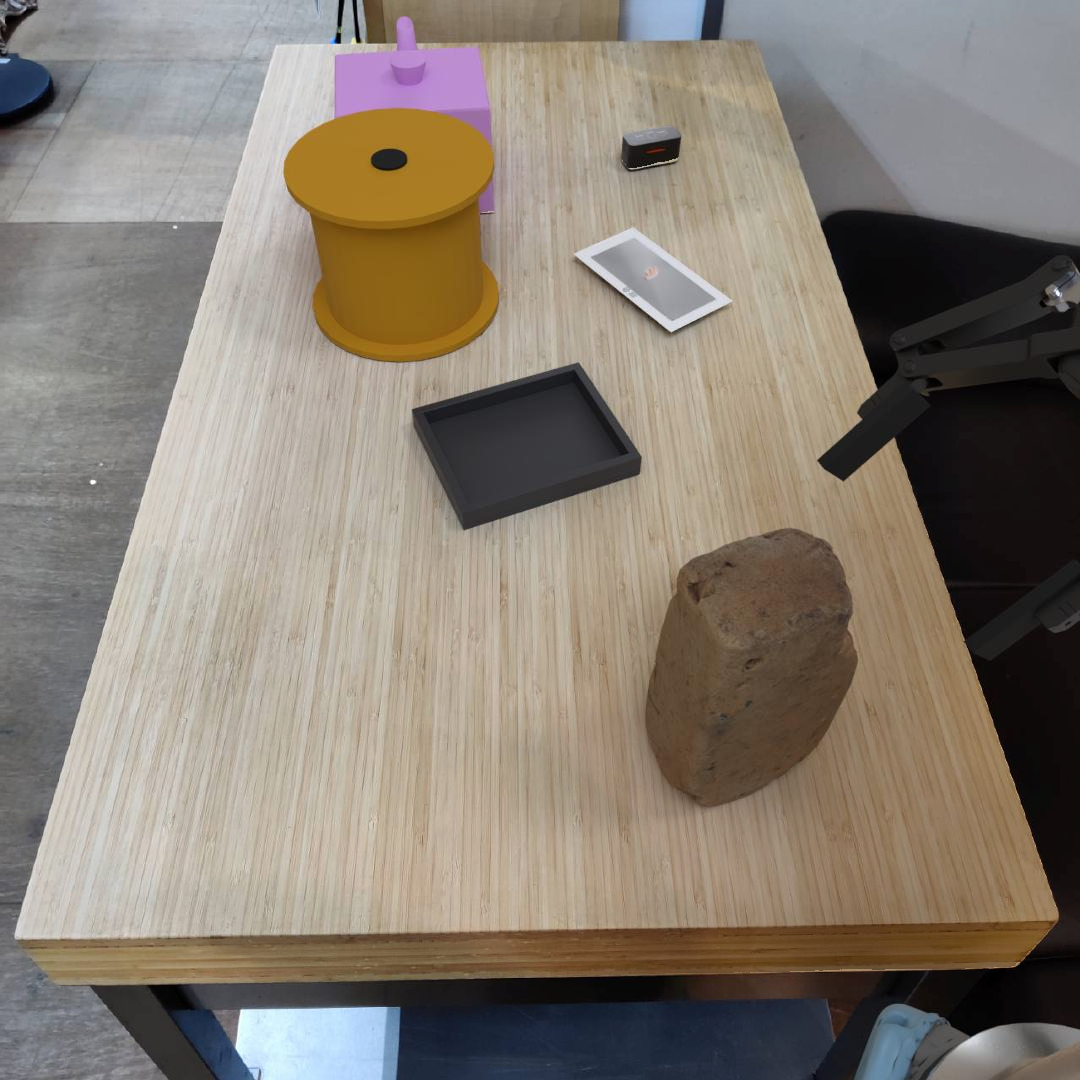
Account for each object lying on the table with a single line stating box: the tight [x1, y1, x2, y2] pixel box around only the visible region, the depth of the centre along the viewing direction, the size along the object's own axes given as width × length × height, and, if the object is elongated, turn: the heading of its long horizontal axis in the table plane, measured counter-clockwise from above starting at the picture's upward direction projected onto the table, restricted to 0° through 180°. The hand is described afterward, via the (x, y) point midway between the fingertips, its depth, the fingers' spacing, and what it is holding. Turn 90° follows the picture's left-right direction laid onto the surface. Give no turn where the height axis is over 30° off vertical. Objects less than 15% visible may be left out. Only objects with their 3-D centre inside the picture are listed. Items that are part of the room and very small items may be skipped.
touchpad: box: [573, 226, 733, 333], centre depth 97 cm, size 8×15×2 cm, turn 36°
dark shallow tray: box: [411, 362, 643, 531], centre depth 83 cm, size 13×16×2 cm
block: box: [644, 527, 859, 807], centre depth 58 cm, size 11×8×20 cm
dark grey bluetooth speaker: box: [620, 125, 682, 168], centre depth 111 cm, size 5×7×3 cm, turn 109°
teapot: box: [333, 15, 495, 213], centre depth 104 cm, size 15×25×14 cm, turn 7°
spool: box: [282, 108, 500, 363], centre depth 90 cm, size 18×18×15 cm
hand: (897, 555), depth 54 cm, fingers open, 13 cm apart
